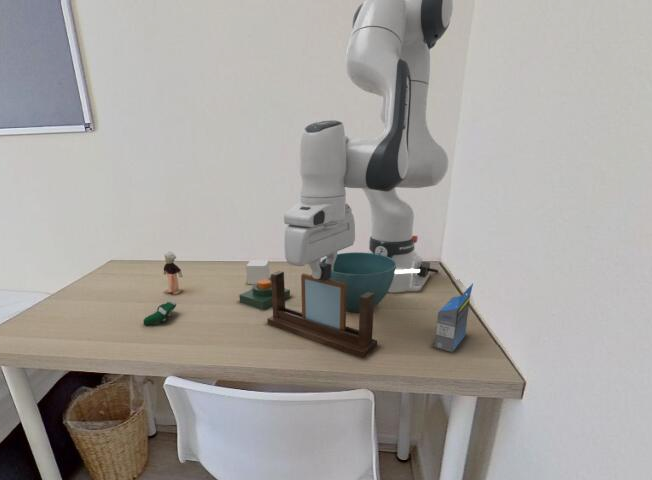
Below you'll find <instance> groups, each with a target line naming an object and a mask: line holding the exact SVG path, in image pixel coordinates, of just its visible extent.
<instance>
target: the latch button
mask: <svg viewBox="0 0 652 480" xmlns="http://www.w3.org/2000/svg"><path fill="white" fill-rule="evenodd" d="M258 288H259V289H268V288H271V279H269V280H267V279H263V280H259V281H258Z"/></svg>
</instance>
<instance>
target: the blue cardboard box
mask: <svg viewBox="0 0 652 480" xmlns="http://www.w3.org/2000/svg"><path fill="white" fill-rule="evenodd" d="M473 286H474V283H471V284H470V285H469V287H468V288H467V289H466V290H465V291H463V293H462V294H461V295H457V296H453V297H451V298H450V299H449V300H448V301H447V302H446V303H445V304H444V305H443V307H441V309H440V310H439V311H438V313H437V320H436V329H435V337H434V338H435V339H434V345H433V346H434V349H438V350H441V351H446V352H447V353H453V352H454V351H455V350H456V349H457V347H458V346H459V345H460V343H461V342H462V341H463V339H464V338H465V337H466V333H467V331H466V330H467V322H468V316H469V307H470V301H471V300H470V299H471V294H472V290H473Z"/></svg>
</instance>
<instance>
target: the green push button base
mask: <svg viewBox="0 0 652 480" xmlns="http://www.w3.org/2000/svg"><path fill="white" fill-rule="evenodd" d="M284 289H285V300H286V299H289V298H291V290H290V289H288V288H285V287H284ZM238 296H239V303H242V304H244V305H248V306H251V307H254V308H257V309H259V310H264V311H265V310H266V309H269V308H270V307H273V306H272V286H271V288H268V289H259V288H258V283H257V284H252V288H251V289H250V290H247V291H245V292H243V293H240V294H239V295H238Z"/></svg>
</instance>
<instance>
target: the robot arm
mask: <svg viewBox="0 0 652 480" xmlns="http://www.w3.org/2000/svg"><path fill="white" fill-rule="evenodd" d="M453 8H454V3H453V0H364V2H363V3H361V4H360V5H359V6H358V8H357V9H356V11H355V13H354V15H353V18H352V30H351V34H350V37H349V41H348V44H347V49H346V51H345V52H346V53H345V60H344V62H345V63H344V67H345V71H346V74H347V76H348V78H349V79H350V81H351V82H352V84H354V85H355V86H356V87H358V88H359V89H361V90H363V91H364V92H366V93H369V94H372V95H373V94H374V95H376V96H379V97H381V102H380V111H379V112H380V114H379V117H380V120H381V122H382V123H383V131H382V133H380V135H378V136H377V137H369V138H368V137H367V138H366V137H365V138H350V137H348V136H347V135H346V133H345V126H344V123H343V122H342V121H339V120H321V121H319V122H317V121H316V122H313V123H310V124H308V125H307V126H305V127H304V128H303V130H302V133H301V140H300V147H299V148H300V149H299V150H300V151H299V173H300V174H299V175H300V177H301V190H300V195H299V196H300V200H299V201H298V202H297V203H296V204H295V205H294V206H292V207H291V208H290V209H289V210H287V211H286V212H285V213H284V215H283V222H284V224H285V225H287V227H286V228H285V230H284V257H285V258H284V259H285V260H286V262H287V263H288V265H290V266H291V265H292V266H296V267H305V266H306V265H309V267H310V270H311V275H312V277H313V278H316V279H319V278H321V277H323V269H320V266H319V263H321V261H322V259H324V258H326V261H325V263H326V264H331V273H332V272H333V267H334V263H335V260H336V257H337V254H338V252H339V251H342V250H344V249H347V248H349V247H351V246H353V245H354V243H355V241H356V224H355V223H356V222H355V217H354V214H353V213H352V211H353V210H352V207H351V206H350V205H349V204H348V203H346V199H347V198H346V197H347V190H346V188H348V189H361V190H362V192H364V194H365V196H366V198H367V201H368V203H369V206H370V213H371V236H370V237H369V242H368V245H369V246H368V248H369V251H367V253H374V254H379V255H384V256H387V257H389V258H391V259H393V260H394V261H395V262H396V269H395V274H394V278H393V281H392V284H391V286H390V288H389V290H388V292H387V293H405V292H420V291H421V290H422V289H423V287H424V286H425V284H426V282H427V281H428V279H429V278H430V273H429V272H431V273H436V274H438V273H439V270H438V269H435V268H431V262H429V261H423V258H422V256H421V255H419V254H418V253H417V251H415V244H416V243H417V242H418V240H419V239H418V238H419V237H418V235H413V233H414V232H413V231H414V218H415V212H414V210H413V207H412V206H411V204H409V203H407V202H406V201H404V200H403V199H402V198H400V197H399V196H398V193H397V190H396V188H403V189H422V188H429V187H433V186H434V187H435V186H437V185H439V184H440V183H441V182H442V181H443V180H444V178H445V176H446V174H447V172H448V169H449V157H448V154H447V152H446V150H445V149H444V147H442V146H441V145H440V144H439V143H438V142H437V141H436V140H435V139H434V137H433V136H432V134H431V132H430V129H429V127H428V123H427V104H428V103H427V102H428V93H429V85H430V78H431V77H430V75H431V51H430V50H431V49H432V48H434V47H435V46H436V44H437V41H439V40H440V39H441V38H442V37H443V36H444V34H445V33H446V31H447V30H448V28H449V26H450V22H451V18H452V14H453V10H454V9H453Z"/></svg>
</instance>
